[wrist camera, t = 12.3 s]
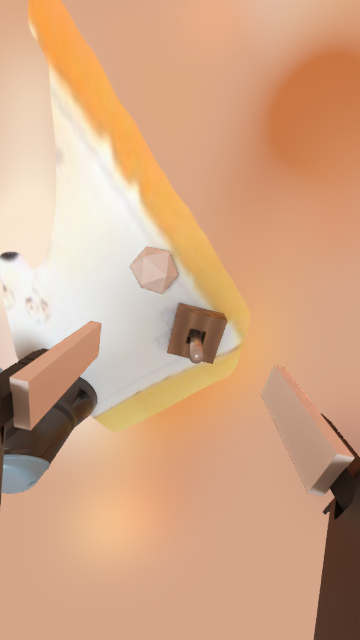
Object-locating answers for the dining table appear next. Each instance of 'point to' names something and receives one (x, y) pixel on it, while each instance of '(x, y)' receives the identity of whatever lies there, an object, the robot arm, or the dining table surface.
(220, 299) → the dining table surface
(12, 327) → the dining table surface
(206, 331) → the socket block
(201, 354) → the pin
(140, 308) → the dining table surface
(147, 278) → the die
